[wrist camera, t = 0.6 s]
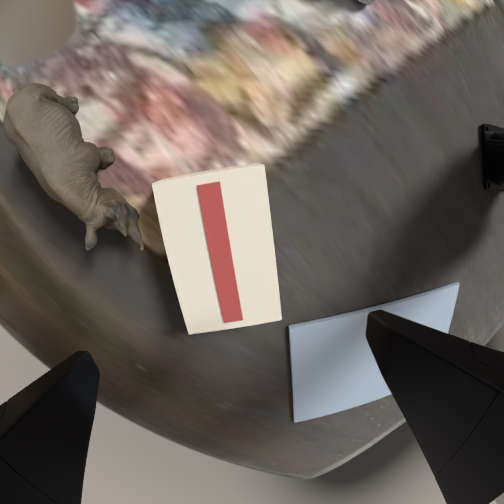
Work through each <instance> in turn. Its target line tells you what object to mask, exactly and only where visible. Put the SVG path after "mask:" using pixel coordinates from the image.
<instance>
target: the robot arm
mask: <svg viewBox="0 0 504 504" xmlns="http://www.w3.org/2000/svg"><path fill="white" fill-rule="evenodd" d="M481 129H482V141H483V160H484V188H485V189H486V190H504V128H500V127H497V126H493V125H489V124H482V126H481ZM366 340H367V342H368V344H369V347H370V349H371V351H372V354H373V356H374V358H375V361H376V363H377V366H378V368H379V370H380V373H381V375H382V377H383V379H384V381H385V383H386V384H387V386H388V388H389V390H390V392H391V393H392V395H393V397H394V399H395V401H396V402H397V404H398V406H399V408H400V410H401V412H402V413H403V415H404V417H405V419H406V421H407V423H408V425H409V427H410V429H411V430H412V432H413V434H414V436H415V438H416V440H417V442H418V444H419V446H420V448H421V450H422V452H423V454H424V456H425V458H426V460H427V462H428V464H429V466H430V468H431V470H432V472H433V474H434V476H435V479H436V481H437V483H438V485H439V488H440V489H441V492H442V494H443V496H444V499H445V501H446V503H447V504H489V503H490V502H492V501H493V500H495V501H496V502H497V504H504V352H501V351H497V350H494V349H490V348H488V347H484V346H481V345H479V344H476V343H473V342H469V341H467V340H464V339H462V338H459V337H456V336H453V335H450V334H447V333H445V332H442V331H439V330H436V329H433V328H431V327H428V326H425V325H422V324H420V323H417V322H414V321H411V320H408V319H406V318H403V317H400V316H397V315H395V314H392V313H389V312H387V311H384V310H381V309H379V310H375V311H371V312H369V313H368V316H367V325H366ZM99 378H100V373H99V369H98V367H97V366H96V364H95V362H94V360H93V358H92V356H91V354H90V353H89V352H88V351H77V352H76V353H74V354H73V355H71V356H70V357H68V358H67V359H65V360H64V361H62V362H61V363H60V364H58V365H57V366H55V367H54V368H52V369H51V370H50V371H48V372H47V373H45V374H44V375H42V376H41V377H40V378H38V379H37V380H35V381H34V382H32V383H31V384H30V385H28V386H27V387H25V388H24V389H23V390H21V391H20V392H18V393H17V394H16V395H14V396H13V397H11V398H10V399H9V400H8V401H7V402H4V403H3V404H2V405H0V504H81V498H82V488H83V480H84V472H85V465H86V458H87V452H88V446H89V441H90V436H91V430H92V425H93V421H94V415H95V409H96V400H97V392H98V385H99Z"/></svg>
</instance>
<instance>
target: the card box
mask: <svg viewBox="0 0 504 504" xmlns="http://www.w3.org/2000/svg"><path fill="white" fill-rule="evenodd" d="M152 188H153V193H154V198H155V203H156V208H157V213H158V218H159V223H160V227H161V232H162V236H163V241H164V245H165V249H166V253H167V258H168V262H169V266H170V270H171V273H172V277H173V281H174V285H175V289H176V292H177V296H178V300H179V303H180V307H181V310H182V314H183V317H184V320H185V324H186V327H187V330H188V334H196V333H204V332H211V331H218V330H225V329H232V328H238V327H244V326H250V325H256V324H262V323H268V322H273V321H279V320H282V316H281V306H280V296H279V286H278V277H277V268H276V259H275V250H274V241H273V232H272V224H271V215H270V207H269V199H268V191H267V183H266V175H265V168H264V164H259V163H254V164H247V165H240V166H233V167H226V168H220V169H214V170H208V171H202V172H197V173H191V174H186V175H181V176H176V177H171V178H166V179H162V180H160V181H157V182H155V183H152Z"/></svg>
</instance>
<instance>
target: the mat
mask: <svg viewBox="0 0 504 504" xmlns="http://www.w3.org/2000/svg"><path fill="white" fill-rule="evenodd" d="M459 284H460V283H458V282H455V283H452V284H449V285H446V286H443V287H440V288H437V289H434V290H430V291H427V292H424V293H421V294H417V295H414V296H410V297H407V298H403V299H400V300H396V301H393V302H389V303H385V304H381V305H378V306H374V307H370V308H366V309H362V310H358V311H354V312H349V313H345V314H341V315H336V316H332V317H327V318H323V319H318V320H313V321H308V322H303V323H298V324H293V325H289V340H290V356H291V373H292V392H293V414H294V423H295V422H300V421H305V420H309V419H313V418H317V417H321V416H325V415H329V414H332V413H336V412H340V411H343V410H346V409H350V408H353V407H356V406H359V405H362V404H365V403H368V402H371V401H374V400H377V399H380V398H383V397H385V396H388V395H391V394H392V393H391V392H390V390H389V388H388V386H387V384H386V383H385V381H384V379H383V377H382V375H381V373H380V370H379V368H378V366H377V363H376V361H375V358H374V356H373V354H372V351H371V349H370V347H369V344H368V342H367V340H366V325H367V316H368V313H369V312H371V311H375V310H379V309H381V310H384V311H387V312H389V313H392V314H395V315H397V316H400V317H403V318H406V319H408V320H411V321H414V322H417V323H420V324H422V325H425V326H428V327H431V328H433V329H436V330H439V331H442V332H445V333H448V330H449V326H450V323H451V319H452V315H453V311H454V307H455V303H456V298H457V294H458V289H459Z"/></svg>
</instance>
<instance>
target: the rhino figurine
mask: <svg viewBox="0 0 504 504" xmlns="http://www.w3.org/2000/svg"><path fill="white" fill-rule="evenodd" d="M78 109H79V105H78V99H77V98H76V97H65V98H63V97H61V96H58V95H57V94H56V92H55V91H54V90H53V89H51V88H50V87H48V86H46V85H43V84H37V83H33V84H29V85H27V86H25V87H23V88H22V89H20V90H19V91H18V92H17V93H16V94H14V95H12V96H11V97H10V98H9V100H8V103H7V107H6V112H5V116H4V131H5V134H6V135H7V137H8V139H9V141H10V142H11V143H13V144H14V145H15V146H16V148H17V150H18V151H19V154H20V155H21V157H22V159H23V160H24V162H25V163H26V165H27V166H28V167H29V169H30V170H31V171H32V173H33V174H34V176H35V177H36V179H37V180H38V182H39V184H40V185H41V187H42V188H43V190H44V191H45V192H46V193H47V194H48V195H49V196H50V198H52V199H53V200H55V201H57V202H58V203H61V204H63V205H64V206H66V207H67V208H68V209H69V210H70V211H71V212H73V213H74V214H75V215H76V216H78V218H79V219H80V220H82V221H83V222H84V223H85V225H86V236H85V248H86V250H90V249H91V248H93V247H94V246H95V245H96V243H97V233H96V232H97V230H98V229H100V228H102V227H103V226H104V227H105V228H106V229H108V230H113V229H115V230H118V231H119V232H120V233H122V234H123V235H124V236H127V235H129V236H130V237H131V238H132V239H133V240H134V242H135V243H136V244H137V245H138V247H139V249H140V250H141V251H143V250H144V242H143V239H142V236H141V233H140V230H139V227H138V219H139V217H140V215H139V214H138V212H137V210H136V209H135V208H134V207H132V206H131V205H130V204H129V203H128V202H127V201H126V200H125V198H124V197H123V196H122V195H121V194H120V193H118V192H117V191H116V190H114V189H112V188H104V189H103V188H101V186H100V183H99V182H98V181H97V180H98V179H97V177H96V175H95V173H96V171H97V170H98V168H99V166H100V167H101V168H106V167H108V165H109V164H112V163H113V162H114V160H115V156H114V152H113V150H112V149H109V148H106V147H101V148H99V149H98V148H97V147H96V146H95V145H94V144H92V143H90V142H84V140H83V138H82V134H81V129H80V125H79V122H78V120H77V119H76V117H75V116H74V115H73V113H76V112H77V111H78Z"/></svg>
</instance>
